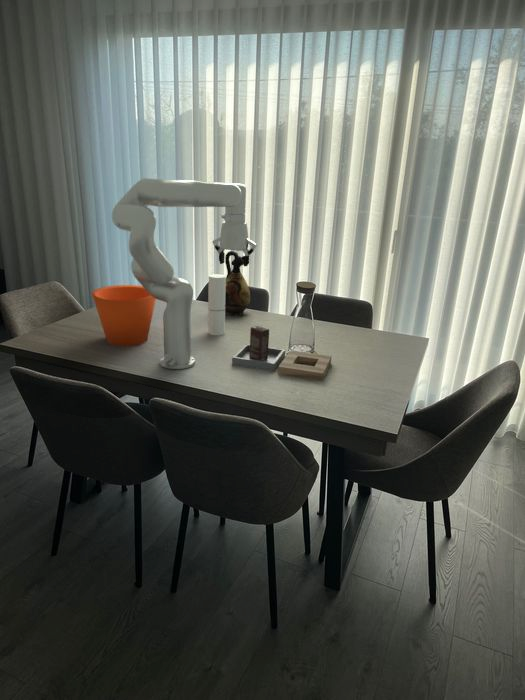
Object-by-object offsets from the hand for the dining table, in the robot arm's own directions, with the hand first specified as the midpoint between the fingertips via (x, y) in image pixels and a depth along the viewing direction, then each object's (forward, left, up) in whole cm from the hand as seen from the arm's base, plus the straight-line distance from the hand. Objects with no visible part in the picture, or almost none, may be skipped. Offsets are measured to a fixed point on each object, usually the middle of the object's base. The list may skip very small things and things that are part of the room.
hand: (233, 264), depth 195 cm
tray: (-11, -15, -33) cm, 38 cm away
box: (-11, -14, -33) cm, 37 cm away
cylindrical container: (+14, +12, -34) cm, 38 cm away
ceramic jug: (+47, +16, -34) cm, 60 cm away
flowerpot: (-9, +42, -34) cm, 55 cm away
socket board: (-12, -33, -33) cm, 48 cm away
